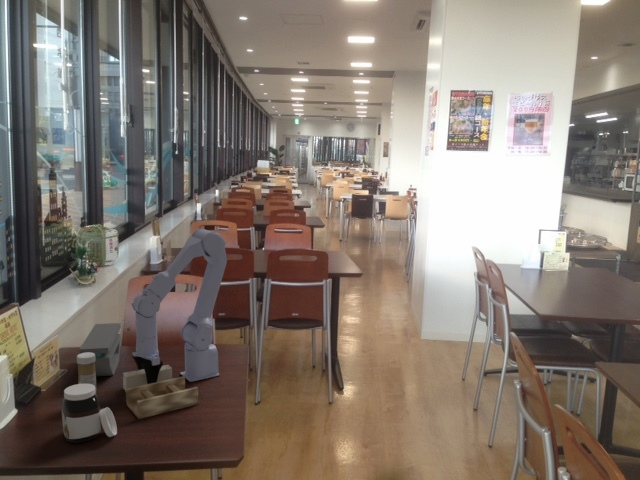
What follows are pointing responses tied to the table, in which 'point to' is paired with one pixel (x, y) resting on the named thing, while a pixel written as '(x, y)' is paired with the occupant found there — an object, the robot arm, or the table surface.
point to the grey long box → (104, 347)
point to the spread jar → (85, 414)
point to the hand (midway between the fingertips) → (148, 381)
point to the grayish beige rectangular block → (144, 377)
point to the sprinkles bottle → (86, 369)
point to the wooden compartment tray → (160, 397)
